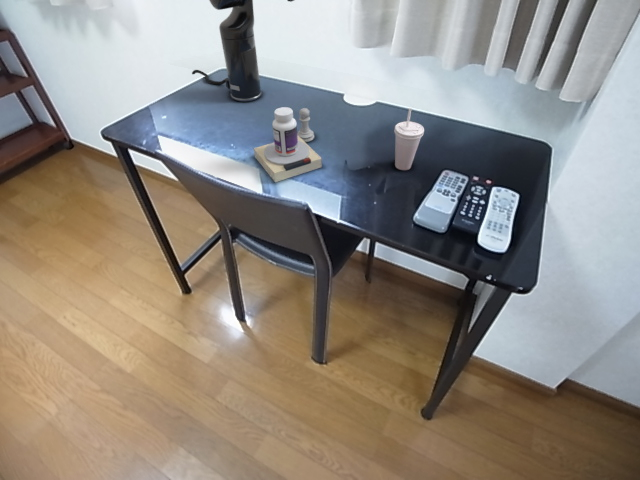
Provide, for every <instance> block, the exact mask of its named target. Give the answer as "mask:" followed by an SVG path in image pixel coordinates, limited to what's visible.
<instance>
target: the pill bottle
mask: <svg viewBox="0 0 640 480" xmlns="http://www.w3.org/2000/svg"><path fill="white" fill-rule="evenodd" d="M271 125H272V133H273V142H274V144H275V151H276V153H277V154H279V155H281V156H291V155H294V154H295V153H296V152H297V151H298V138H297V132H298V126H297V125H298V124H297V120H296V119H295V118H294V111H293V109H292V108H290V107H287V106H281V107H278V108H276V109H275V110H274V119H273V120H272V124H271Z"/></svg>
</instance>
